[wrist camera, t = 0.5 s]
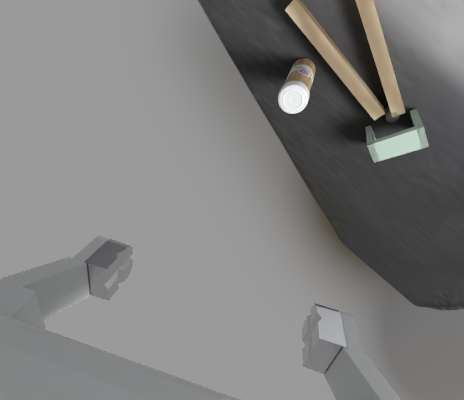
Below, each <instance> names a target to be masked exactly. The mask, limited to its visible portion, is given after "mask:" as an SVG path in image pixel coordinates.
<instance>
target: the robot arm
mask: <svg viewBox="0 0 464 400" xmlns="http://www.w3.org/2000/svg"><path fill="white" fill-rule="evenodd" d="M131 254H132V247H131V246H129V245H126V244H123V243H120V242H117V241H115V240H112V239H108V238H105V237H102V236H99V237H96V238H95V239H94V240H93V241H91V242H90V243H89V244H88V245H87V246H86V247H84V248H83V249H82V250H81V251H80V252H79V253H77V254H76V255H75V256H74V257H73V258H69V257H68V258H65V259H62V260H58V261H56V262H52V263H49V264H46V265H42V266H39V267H36V268H33V269H30V270H26V271H23V272H20V273H17V274H14V275H10V276H7V277H4V278H2V279H1V280H0V400H239V399H236V398H234V397H231V396H228V395H225V394H223V393H220V392H217V391H214V390H212V389H208V388H206V387H203V386H200V385H198V384H195V383H192V382H189V381H186V380H184V379H181V378H178V377H175V376H172V375H170V374H167V373H164V372H161V371H159V370H156V369H153V368H150V367H148V366H145V365H142V364H139V363H136V362H134V361H131V360H128V359H125V358H123V357H120V356H117V355H114V354H111V353H108V352H106V351H103V350H100V349H98V348H95V347H92V346H89V345H87V344H84V343H81V342H78V341H75V340H72V339H70V338H67V337H64V336H61V335H59V334H56V333H53V332H50V331H48V330H46V329H45V325H44V320H45V319H47V318H49V317H51V316H53V315H55V314H57V313H59V312H60V311H62V310H64V309H66V308H68V307H70V306H72V305H73V304H75V303H77V302H79V301H81V300H83V299H85V298H87V297H89V296H90V295H93V296H96V297H100V298H103V299H106V300H109V299H110V298H111V297H112V296H113V294H114V293H115V292H116V291H117V289H118V283H121V282H123V281H124V280H125V279H126V278H127V277H128V275H129V273H130V271H131V269H132V259H131V258H130V255H131ZM302 339H303V341H304V343H305V346H304V348H303V366H304V367H307V368H309V369H312V370H315V371H318V372H320V373H323V374H325V375H324V376H325V378H326V380H327V382H328V384H329V386H330V388H331V390H332V392H333V394H334V396H335V398H336V400H400V398H399V397H398V396H397V394H396V393H395V392H394V390H393V389H392V388H391V387H390V385H389V384H388V383H387V381H386V380H385V379H384V378H383V376H382V375H381V374H380V373H379V371H378V370H377V368H376V367H375V366H374V364H373V363H372V362H371V361H370V359H369V358H368V357H367V355H366V354H363V353H362V352H361V347H360V344H359V339H358V334H357V330H356V326H355V321H354V317H353V316H352V315H351V314H347V313H344V312H341V311H338V310H334V309H331V308H327V307H325V306H321V305H318V304H314V305H313V306H312V308H311V315H309V316H307V318H306V320H305V322H304V326H303V332H302Z"/></svg>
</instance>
